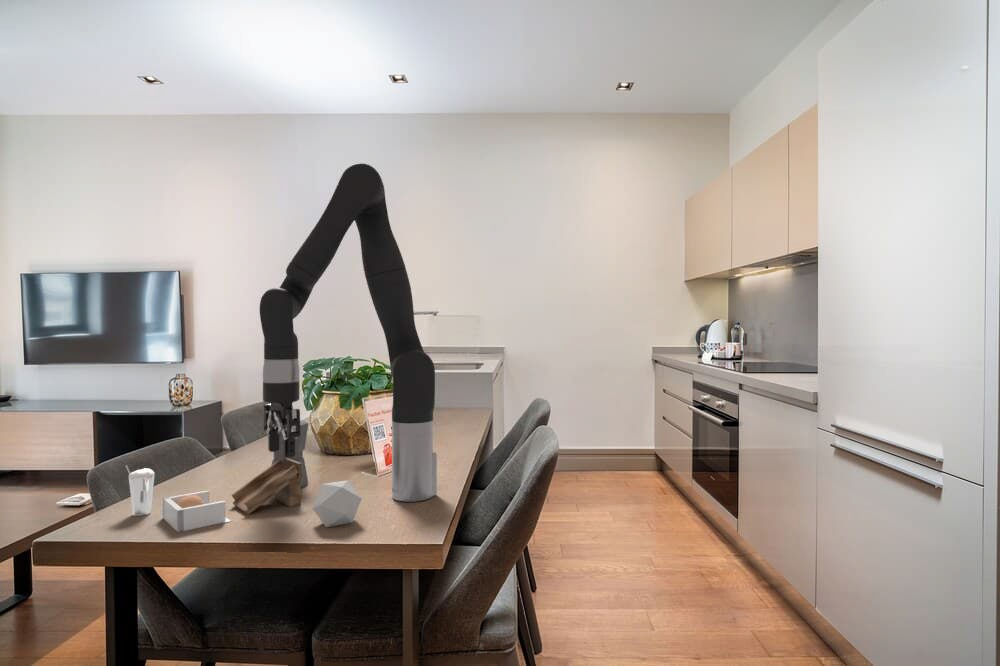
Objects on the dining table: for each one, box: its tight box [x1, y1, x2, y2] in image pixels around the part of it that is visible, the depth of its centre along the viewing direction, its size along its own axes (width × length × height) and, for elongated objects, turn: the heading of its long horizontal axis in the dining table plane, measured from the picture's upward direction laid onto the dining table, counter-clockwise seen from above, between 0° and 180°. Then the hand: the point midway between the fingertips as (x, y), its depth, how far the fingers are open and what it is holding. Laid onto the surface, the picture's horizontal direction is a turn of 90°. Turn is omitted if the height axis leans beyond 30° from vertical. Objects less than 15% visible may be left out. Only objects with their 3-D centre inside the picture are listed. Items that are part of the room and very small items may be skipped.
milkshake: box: [125, 465, 155, 517], centre depth 118 cm, size 4×5×10 cm
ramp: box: [231, 457, 302, 516], centre depth 123 cm, size 12×8×9 cm
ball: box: [177, 495, 204, 508], centre depth 113 cm, size 5×5×5 cm
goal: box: [162, 490, 227, 533], centre depth 114 cm, size 8×11×4 cm
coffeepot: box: [271, 420, 309, 488], centre depth 141 cm, size 15×9×18 cm, turn 12°
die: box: [312, 480, 363, 528], centre depth 112 cm, size 8×9×10 cm
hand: (281, 453), depth 125 cm, fingers open, 8 cm apart
